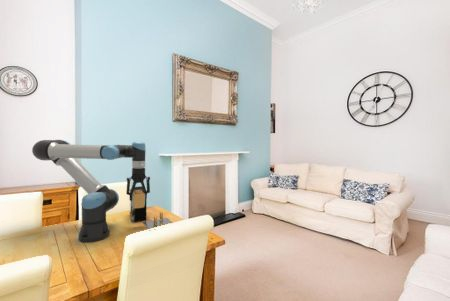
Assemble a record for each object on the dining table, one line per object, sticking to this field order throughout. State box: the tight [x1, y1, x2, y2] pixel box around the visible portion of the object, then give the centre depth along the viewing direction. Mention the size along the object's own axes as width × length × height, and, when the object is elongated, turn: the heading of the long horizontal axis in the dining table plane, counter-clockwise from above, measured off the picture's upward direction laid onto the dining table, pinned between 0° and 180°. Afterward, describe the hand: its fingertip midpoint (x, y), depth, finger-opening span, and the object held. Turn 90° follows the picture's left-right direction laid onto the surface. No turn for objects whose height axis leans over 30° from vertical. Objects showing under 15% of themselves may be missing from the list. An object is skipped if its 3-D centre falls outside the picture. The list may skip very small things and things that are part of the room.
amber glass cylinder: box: [153, 216, 158, 226], centre depth 144 cm, size 2×2×5 cm
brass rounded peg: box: [159, 212, 164, 221], centre depth 153 cm, size 2×2×5 cm
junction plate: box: [142, 217, 174, 230], centre depth 149 cm, size 16×14×1 cm
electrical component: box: [129, 185, 147, 223], centre depth 160 cm, size 18×10×20 cm, turn 25°
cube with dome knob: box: [132, 190, 145, 209], centre depth 142 cm, size 6×6×10 cm
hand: (138, 204), depth 142 cm, fingers closed on cube with dome knob, 6 cm apart
